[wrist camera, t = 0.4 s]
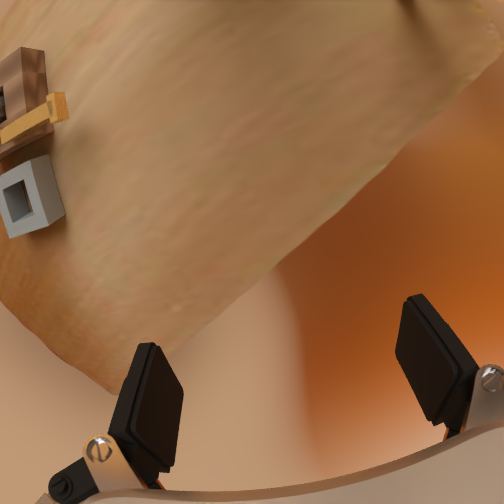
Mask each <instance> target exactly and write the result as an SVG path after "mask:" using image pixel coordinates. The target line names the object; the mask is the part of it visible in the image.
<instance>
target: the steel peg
mask: <svg viewBox="0 0 504 504" xmlns="http://www.w3.org/2000/svg"><path fill="white" fill-rule="evenodd" d="M5 120H7V116H6V109H5V100H4V96H1V97H0V122H3V121H5Z"/></svg>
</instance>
